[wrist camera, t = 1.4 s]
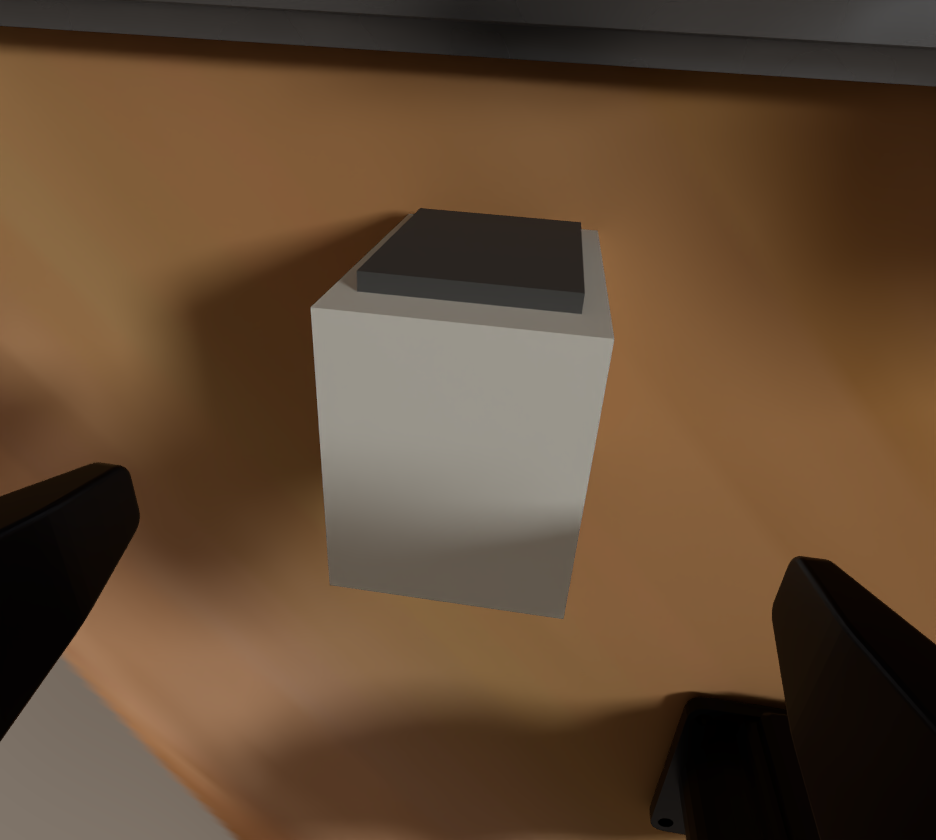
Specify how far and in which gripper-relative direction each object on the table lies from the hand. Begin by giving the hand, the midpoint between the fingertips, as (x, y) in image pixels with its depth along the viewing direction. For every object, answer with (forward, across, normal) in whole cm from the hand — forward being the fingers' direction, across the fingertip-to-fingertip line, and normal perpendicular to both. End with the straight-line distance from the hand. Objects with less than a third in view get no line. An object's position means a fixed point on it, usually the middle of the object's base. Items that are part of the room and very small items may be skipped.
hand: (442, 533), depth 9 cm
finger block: (+7, 0, 0) cm, 7 cm away
